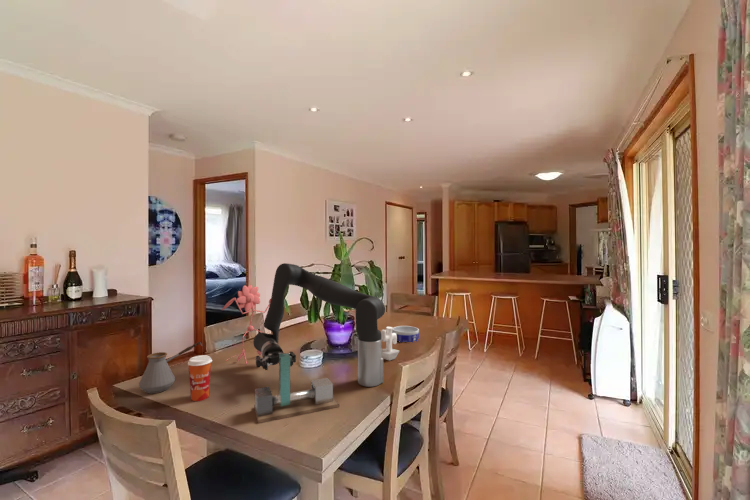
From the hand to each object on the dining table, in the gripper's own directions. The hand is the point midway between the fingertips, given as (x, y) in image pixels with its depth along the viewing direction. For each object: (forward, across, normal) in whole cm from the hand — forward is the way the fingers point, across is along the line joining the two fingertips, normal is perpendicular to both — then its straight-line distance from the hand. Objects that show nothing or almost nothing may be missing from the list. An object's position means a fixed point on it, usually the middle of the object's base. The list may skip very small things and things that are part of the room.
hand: (279, 365), depth 124 cm
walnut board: (+11, +4, +11) cm, 16 cm away
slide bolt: (+11, +2, +9) cm, 14 cm away
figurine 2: (-20, +54, +11) cm, 59 cm away
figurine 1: (-47, -6, +11) cm, 49 cm away
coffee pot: (-26, -35, +11) cm, 45 cm away
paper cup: (-10, -26, +11) cm, 30 cm away
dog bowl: (-46, +79, +12) cm, 92 cm away
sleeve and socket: (+11, +3, +10) cm, 15 cm away
